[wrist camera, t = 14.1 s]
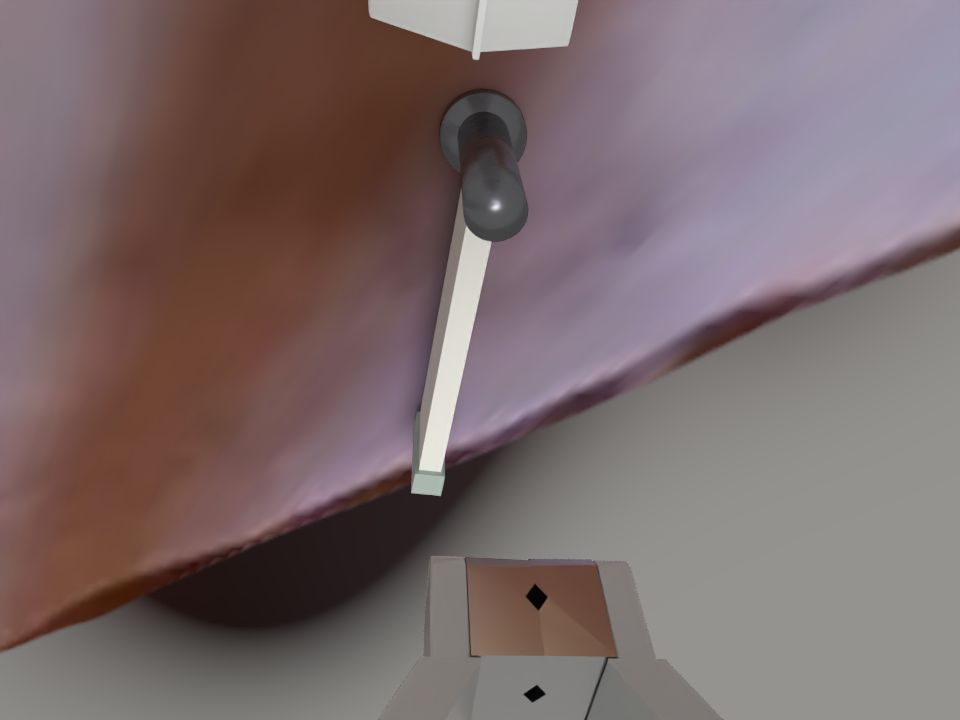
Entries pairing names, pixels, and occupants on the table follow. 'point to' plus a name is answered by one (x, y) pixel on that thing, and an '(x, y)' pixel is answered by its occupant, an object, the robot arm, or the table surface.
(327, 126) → the table surface
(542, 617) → the robot arm
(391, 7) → the milk carton
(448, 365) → the gate
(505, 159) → the hinge post
